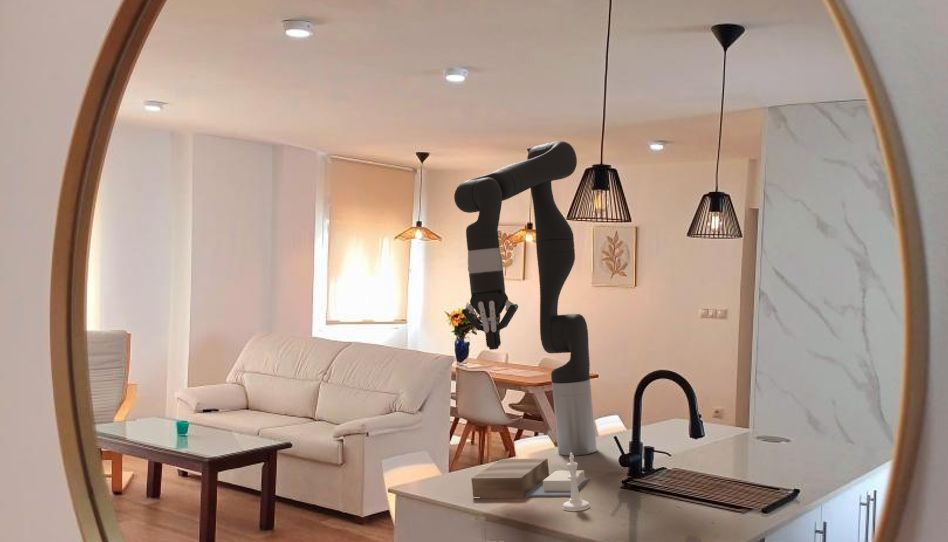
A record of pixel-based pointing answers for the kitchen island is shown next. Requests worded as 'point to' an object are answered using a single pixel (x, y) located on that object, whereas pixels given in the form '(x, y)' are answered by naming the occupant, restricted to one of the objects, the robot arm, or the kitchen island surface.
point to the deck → (510, 478)
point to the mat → (540, 492)
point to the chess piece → (574, 490)
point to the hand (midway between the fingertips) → (493, 349)
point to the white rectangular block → (561, 481)
